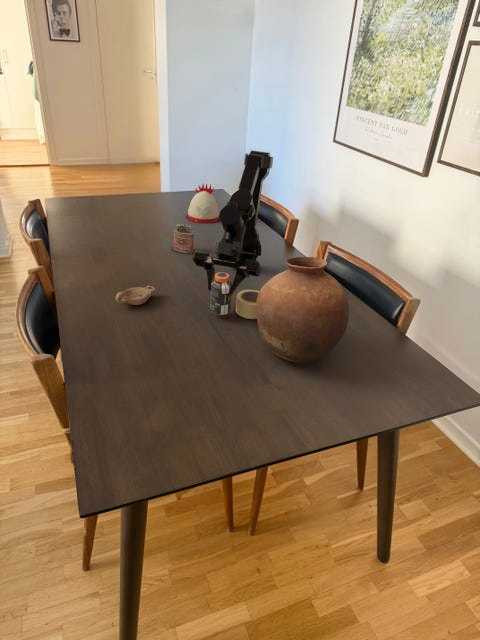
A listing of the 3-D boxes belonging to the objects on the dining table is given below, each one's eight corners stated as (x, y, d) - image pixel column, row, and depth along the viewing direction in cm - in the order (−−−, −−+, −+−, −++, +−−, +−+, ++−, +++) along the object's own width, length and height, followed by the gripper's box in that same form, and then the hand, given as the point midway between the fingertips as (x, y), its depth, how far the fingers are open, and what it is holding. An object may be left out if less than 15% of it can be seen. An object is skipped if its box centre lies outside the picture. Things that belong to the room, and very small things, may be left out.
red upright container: (171, 249, 166) (171, 224, 160) (176, 246, 168) (176, 221, 163) (191, 254, 163) (191, 228, 158) (195, 251, 166) (196, 225, 161)
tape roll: (255, 301, 138) (257, 287, 135) (271, 315, 131) (273, 300, 128) (230, 306, 133) (231, 292, 131) (245, 321, 127) (246, 306, 124)
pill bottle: (231, 315, 126) (234, 280, 120) (210, 315, 125) (212, 279, 119) (229, 304, 131) (231, 270, 124) (209, 304, 130) (210, 269, 124)
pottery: (318, 390, 104) (339, 296, 91) (235, 353, 113) (243, 264, 100) (351, 345, 121) (373, 261, 108) (277, 317, 130) (288, 236, 117)
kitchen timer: (218, 224, 193) (219, 189, 185) (186, 221, 192) (186, 186, 185) (219, 213, 205) (221, 180, 197) (189, 211, 204) (190, 177, 196)
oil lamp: (147, 290, 138) (147, 276, 135) (162, 300, 134) (161, 285, 131) (109, 303, 130) (108, 288, 127) (123, 314, 125) (122, 298, 123)
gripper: (195, 222, 120) (180, 277, 117) (262, 233, 117) (250, 289, 114) (203, 239, 131) (190, 289, 127) (265, 250, 128) (253, 301, 124)
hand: (220, 292), depth 123 cm, fingers closed on pill bottle, 6 cm apart
